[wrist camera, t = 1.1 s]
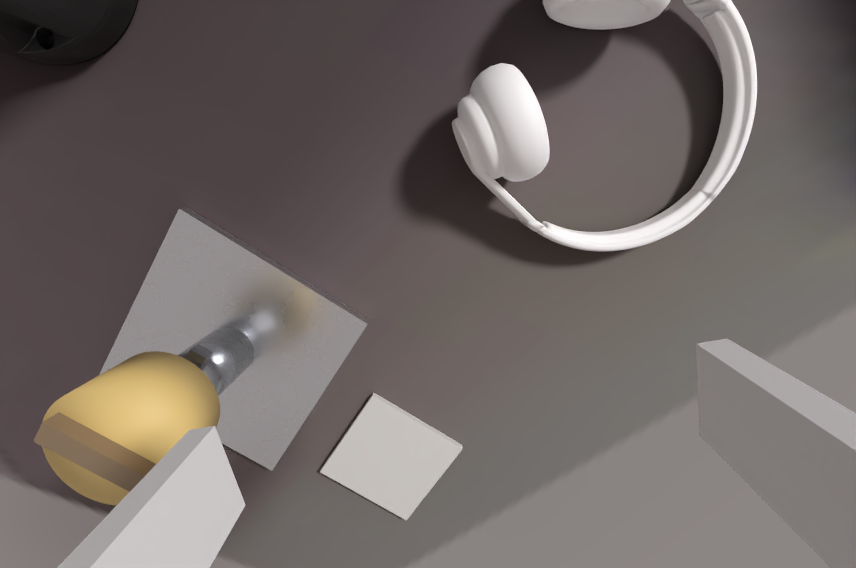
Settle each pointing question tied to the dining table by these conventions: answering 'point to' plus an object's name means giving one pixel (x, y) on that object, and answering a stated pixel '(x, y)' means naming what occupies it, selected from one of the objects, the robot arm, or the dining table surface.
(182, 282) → the post fixture
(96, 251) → the dining table surface
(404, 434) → the mat
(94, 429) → the cap
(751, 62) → the headphones
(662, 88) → the dining table surface
